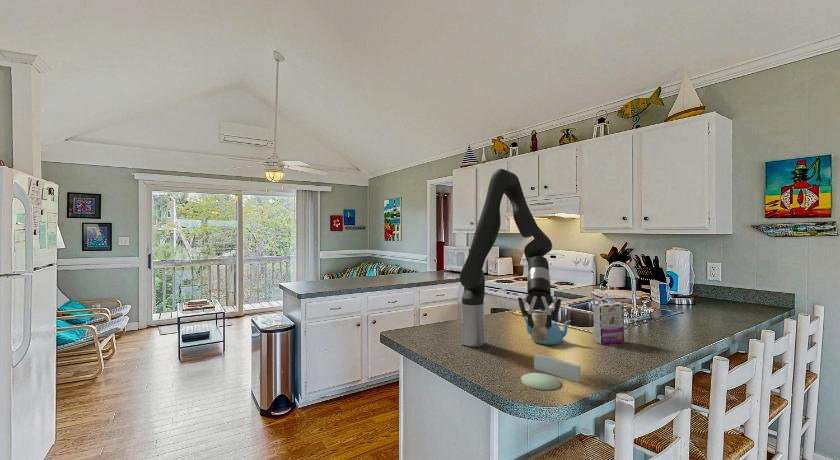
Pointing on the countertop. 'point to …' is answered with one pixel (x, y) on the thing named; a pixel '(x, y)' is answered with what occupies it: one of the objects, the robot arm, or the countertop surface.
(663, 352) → the countertop surface
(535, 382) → the sage mat
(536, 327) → the beech cylinder
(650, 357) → the countertop surface
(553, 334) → the teapot
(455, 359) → the countertop surface
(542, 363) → the frosted wall
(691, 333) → the countertop surface
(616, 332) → the candy bar box
